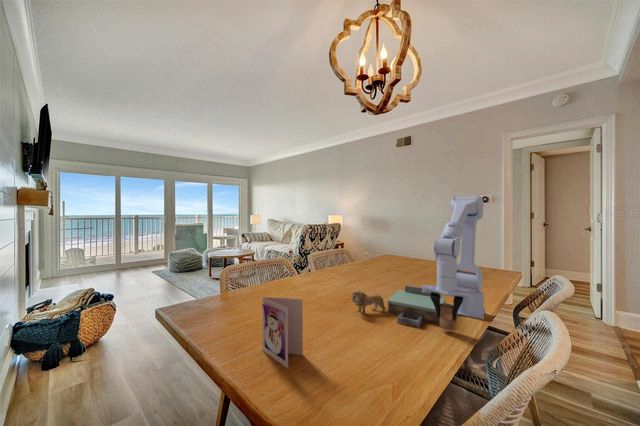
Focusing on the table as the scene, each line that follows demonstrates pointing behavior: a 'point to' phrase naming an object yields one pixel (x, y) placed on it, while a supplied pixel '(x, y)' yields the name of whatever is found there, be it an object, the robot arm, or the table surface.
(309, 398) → the table surface
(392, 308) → the dark grey box base
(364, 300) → the lion figurine
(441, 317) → the key peg
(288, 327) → the greeting card
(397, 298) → the lid
